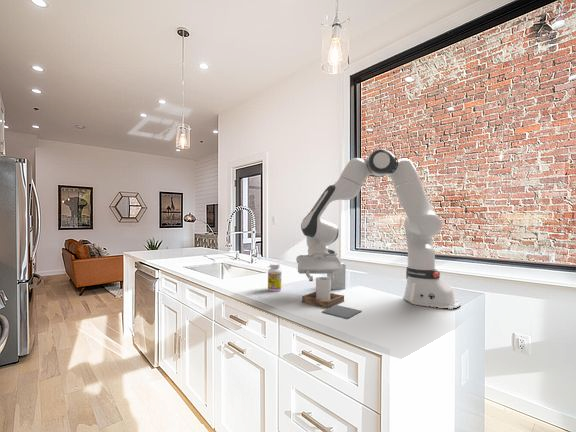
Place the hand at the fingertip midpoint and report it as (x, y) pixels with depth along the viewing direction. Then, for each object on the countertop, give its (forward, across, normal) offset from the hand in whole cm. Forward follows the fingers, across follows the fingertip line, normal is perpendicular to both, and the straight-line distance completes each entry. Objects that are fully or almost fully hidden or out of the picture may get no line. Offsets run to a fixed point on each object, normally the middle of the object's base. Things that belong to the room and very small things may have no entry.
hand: (321, 280), depth 134 cm
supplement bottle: (-6, -20, +19) cm, 28 cm away
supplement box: (-9, +12, +21) cm, 26 cm away
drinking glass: (+8, 0, +4) cm, 9 cm away
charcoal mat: (+18, +4, -6) cm, 20 cm away
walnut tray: (+8, 0, +4) cm, 9 cm away
